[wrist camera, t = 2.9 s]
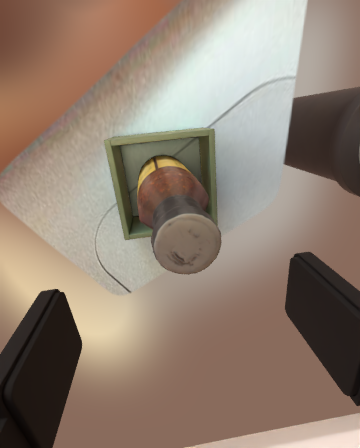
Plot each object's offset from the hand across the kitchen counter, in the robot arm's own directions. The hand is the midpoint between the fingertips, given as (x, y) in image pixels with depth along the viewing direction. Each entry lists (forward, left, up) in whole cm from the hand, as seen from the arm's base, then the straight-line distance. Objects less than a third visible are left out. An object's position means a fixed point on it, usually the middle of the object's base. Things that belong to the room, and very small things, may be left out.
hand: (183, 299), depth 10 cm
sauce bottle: (0, 0, -24) cm, 24 cm away
